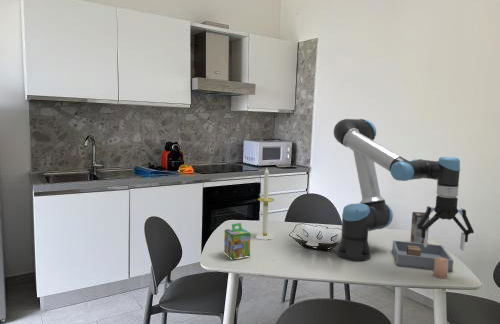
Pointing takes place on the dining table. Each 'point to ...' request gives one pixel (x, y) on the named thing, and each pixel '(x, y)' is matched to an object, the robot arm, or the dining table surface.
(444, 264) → the terracotta cylinder
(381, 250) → the dining table surface
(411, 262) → the tray
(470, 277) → the dining table surface
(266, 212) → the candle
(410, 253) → the walnut cube
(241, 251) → the chalk box
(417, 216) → the coffee box
